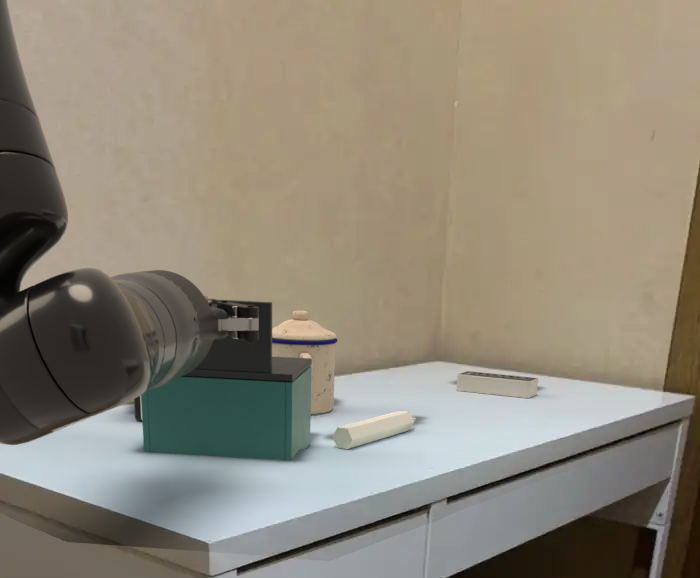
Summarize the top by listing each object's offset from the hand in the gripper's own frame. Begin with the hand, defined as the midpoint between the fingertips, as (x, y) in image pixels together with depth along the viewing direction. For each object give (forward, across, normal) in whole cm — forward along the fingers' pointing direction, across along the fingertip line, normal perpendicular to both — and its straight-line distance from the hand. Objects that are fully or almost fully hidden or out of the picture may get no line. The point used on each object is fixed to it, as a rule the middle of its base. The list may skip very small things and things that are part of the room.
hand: (207, 311), depth 80 cm
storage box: (+8, 0, +14) cm, 16 cm away
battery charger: (+24, +13, +14) cm, 31 cm away
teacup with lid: (+33, -3, +14) cm, 36 cm away
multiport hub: (+57, -28, +14) cm, 65 cm away
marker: (+20, -14, +14) cm, 28 cm away
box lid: (+8, 0, +6) cm, 10 cm away
